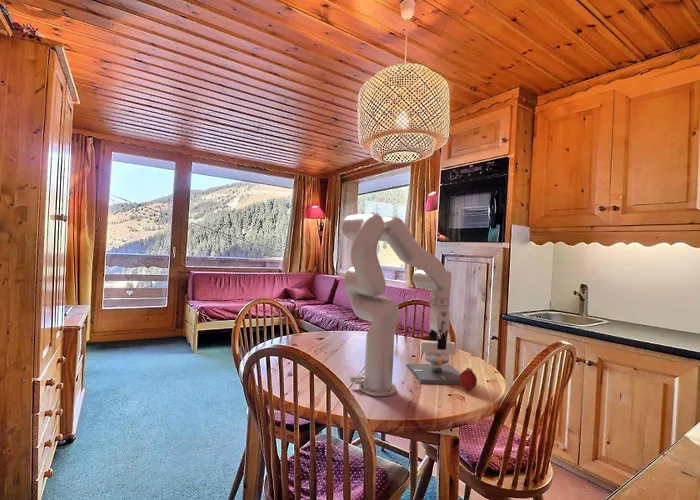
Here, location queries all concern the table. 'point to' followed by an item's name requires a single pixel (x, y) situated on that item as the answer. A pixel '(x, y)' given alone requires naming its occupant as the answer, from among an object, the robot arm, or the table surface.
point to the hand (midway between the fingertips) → (436, 346)
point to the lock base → (435, 373)
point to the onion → (468, 379)
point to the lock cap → (437, 351)
